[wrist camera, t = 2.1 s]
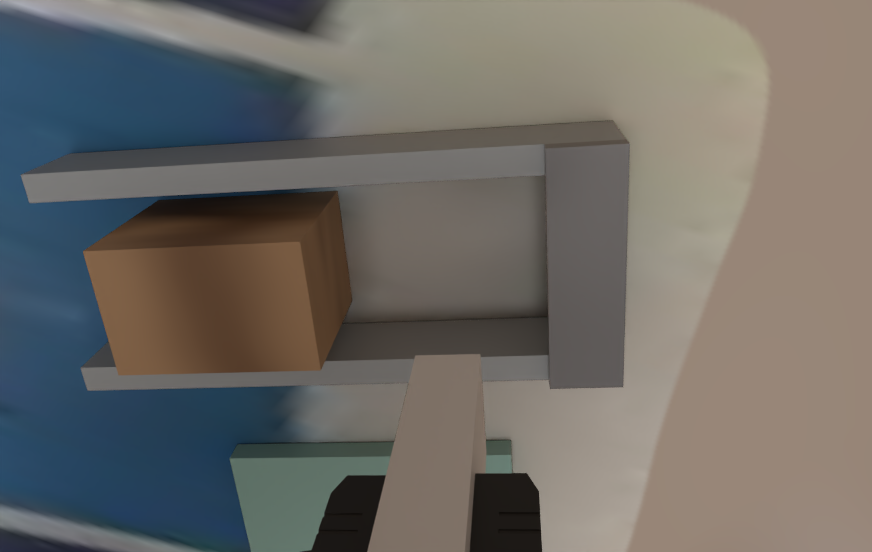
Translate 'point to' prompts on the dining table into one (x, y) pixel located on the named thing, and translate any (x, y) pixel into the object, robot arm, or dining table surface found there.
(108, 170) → the grey channel
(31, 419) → the dining table surface
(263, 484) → the teal coaster
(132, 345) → the walnut block
